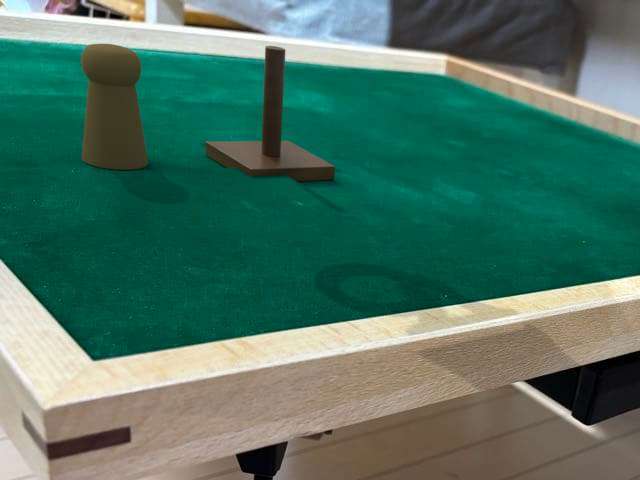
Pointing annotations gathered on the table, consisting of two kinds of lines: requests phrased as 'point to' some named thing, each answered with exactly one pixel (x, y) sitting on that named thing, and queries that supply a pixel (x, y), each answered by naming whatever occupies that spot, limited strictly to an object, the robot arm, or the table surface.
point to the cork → (112, 108)
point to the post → (271, 137)
